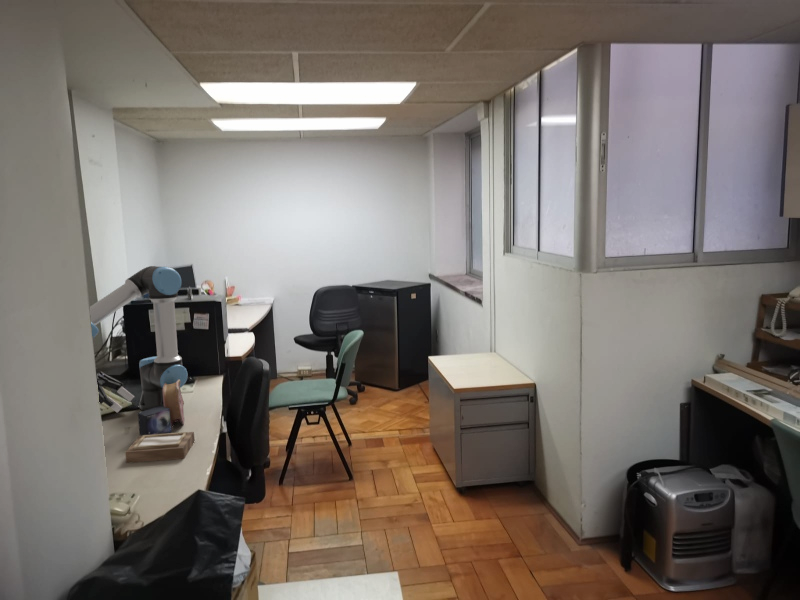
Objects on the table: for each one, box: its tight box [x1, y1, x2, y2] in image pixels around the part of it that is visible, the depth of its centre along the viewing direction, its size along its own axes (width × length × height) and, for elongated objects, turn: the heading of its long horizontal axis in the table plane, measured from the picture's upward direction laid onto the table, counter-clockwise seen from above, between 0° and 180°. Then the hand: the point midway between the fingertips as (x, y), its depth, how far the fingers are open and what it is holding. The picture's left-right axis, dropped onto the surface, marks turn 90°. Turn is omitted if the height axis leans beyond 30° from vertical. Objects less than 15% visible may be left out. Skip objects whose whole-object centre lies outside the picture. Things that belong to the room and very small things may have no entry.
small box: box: [137, 406, 173, 436], centre depth 239 cm, size 11×6×10 cm, turn 143°
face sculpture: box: [163, 379, 185, 428], centre depth 253 cm, size 20×7×17 cm, turn 19°
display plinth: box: [124, 431, 196, 464], centre depth 222 cm, size 16×20×5 cm
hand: (126, 404), depth 237 cm, fingers open, 13 cm apart
